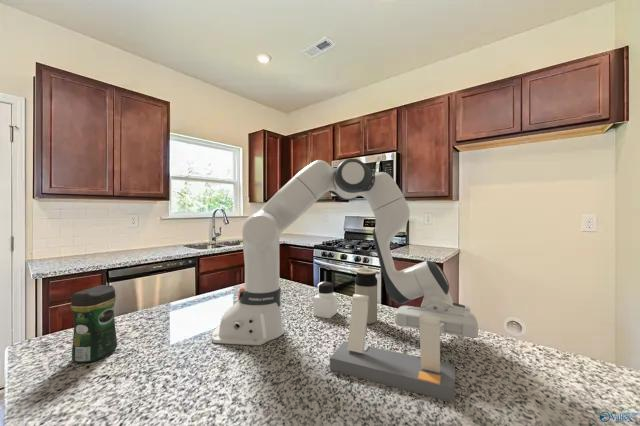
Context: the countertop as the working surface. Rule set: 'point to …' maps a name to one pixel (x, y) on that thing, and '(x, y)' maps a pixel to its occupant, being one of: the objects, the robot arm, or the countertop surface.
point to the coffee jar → (93, 323)
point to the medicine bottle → (325, 301)
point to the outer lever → (430, 342)
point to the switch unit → (395, 371)
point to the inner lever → (358, 323)
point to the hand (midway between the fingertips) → (432, 332)
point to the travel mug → (368, 291)
